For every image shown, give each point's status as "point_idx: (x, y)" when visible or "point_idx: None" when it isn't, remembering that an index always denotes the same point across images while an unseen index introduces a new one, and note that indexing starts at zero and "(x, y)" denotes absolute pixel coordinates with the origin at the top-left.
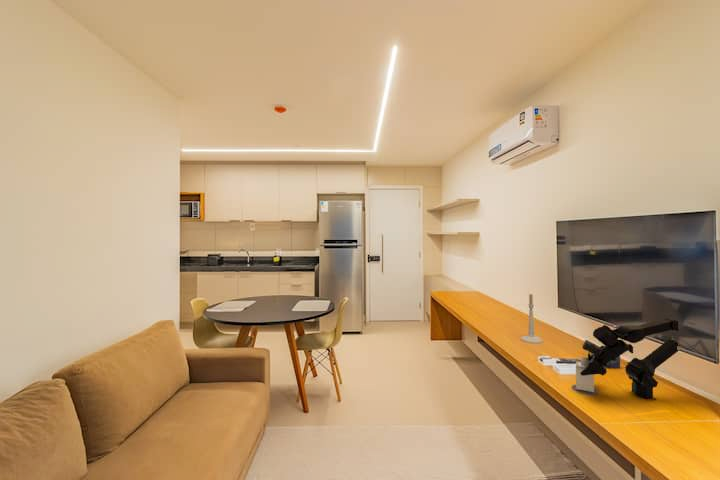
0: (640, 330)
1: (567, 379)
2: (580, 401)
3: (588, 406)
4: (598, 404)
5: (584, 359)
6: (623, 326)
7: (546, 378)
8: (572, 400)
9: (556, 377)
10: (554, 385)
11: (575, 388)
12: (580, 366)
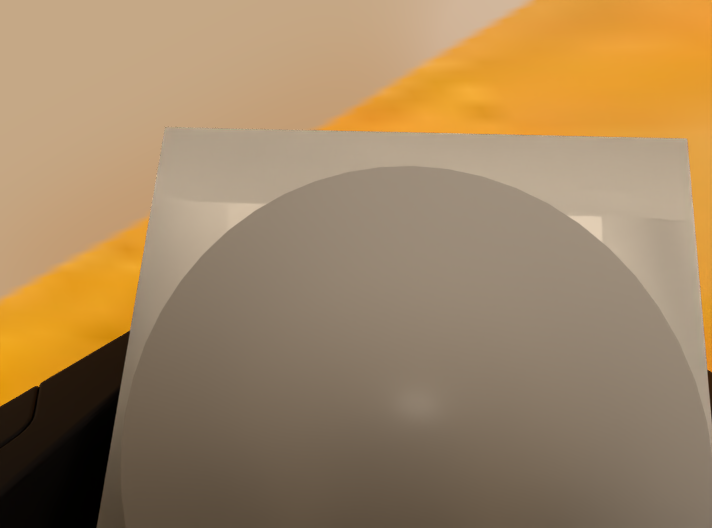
0: None
1: (702, 208)
2: (119, 314)
3: (29, 380)
4: None
5: (147, 405)
6: None
7: (592, 5)
8: (116, 242)
9: (692, 95)
10: (427, 84)
11: None
12: (167, 252)
